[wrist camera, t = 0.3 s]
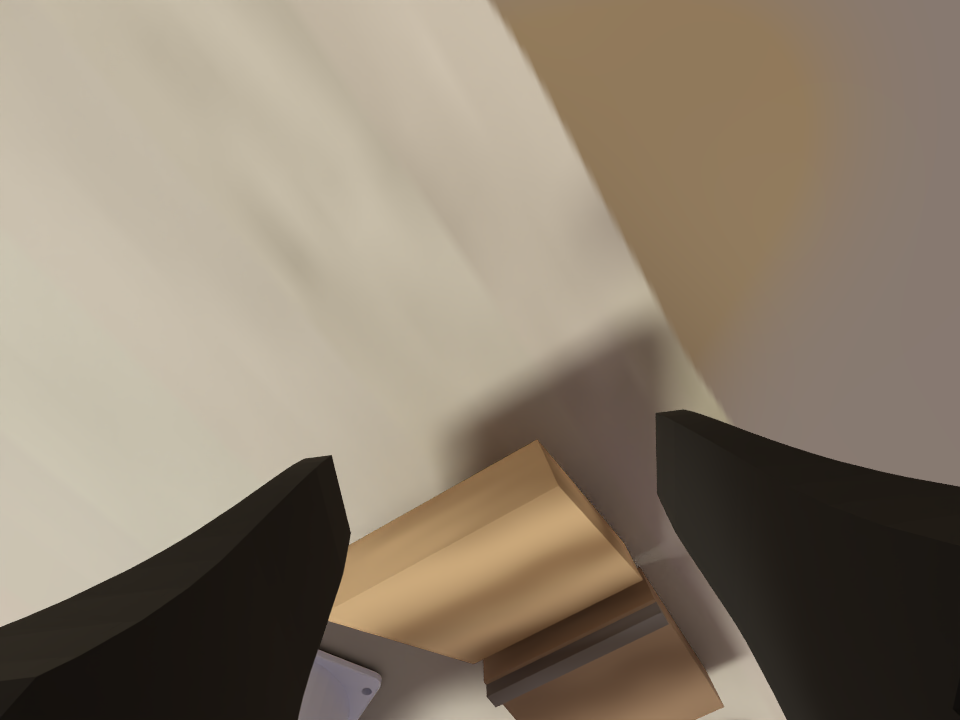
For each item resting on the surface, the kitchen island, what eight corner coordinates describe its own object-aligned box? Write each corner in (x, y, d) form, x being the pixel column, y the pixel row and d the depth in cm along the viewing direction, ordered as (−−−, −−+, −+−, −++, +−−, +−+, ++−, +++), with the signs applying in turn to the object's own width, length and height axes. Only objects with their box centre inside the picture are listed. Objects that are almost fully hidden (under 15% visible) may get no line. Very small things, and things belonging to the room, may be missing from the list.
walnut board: (705, 670, 27) (730, 718, 24) (558, 737, 28) (567, 790, 25) (639, 567, 24) (659, 609, 22) (482, 646, 26) (484, 694, 23)
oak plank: (623, 543, 24) (642, 579, 23) (464, 625, 25) (473, 664, 24) (537, 439, 16) (558, 485, 15) (313, 565, 17) (316, 617, 16)
